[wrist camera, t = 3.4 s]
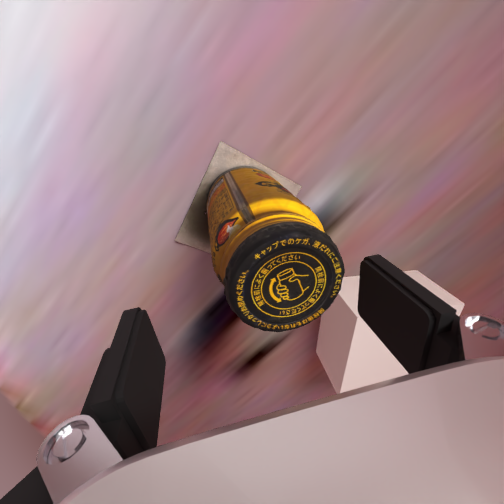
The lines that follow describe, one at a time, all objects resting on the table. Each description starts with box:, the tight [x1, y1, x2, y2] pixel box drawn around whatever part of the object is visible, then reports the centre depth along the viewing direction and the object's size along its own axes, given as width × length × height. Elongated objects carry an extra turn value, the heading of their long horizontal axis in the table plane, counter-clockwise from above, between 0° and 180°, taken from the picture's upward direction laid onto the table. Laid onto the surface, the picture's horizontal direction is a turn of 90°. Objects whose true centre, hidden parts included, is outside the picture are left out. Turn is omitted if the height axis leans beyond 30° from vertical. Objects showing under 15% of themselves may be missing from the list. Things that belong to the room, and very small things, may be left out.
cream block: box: [316, 270, 465, 394], centre depth 27 cm, size 10×10×6 cm
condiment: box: [175, 141, 345, 332], centre depth 17 cm, size 7×8×12 cm
